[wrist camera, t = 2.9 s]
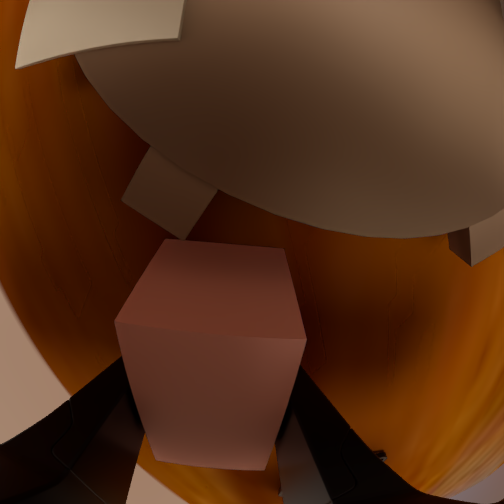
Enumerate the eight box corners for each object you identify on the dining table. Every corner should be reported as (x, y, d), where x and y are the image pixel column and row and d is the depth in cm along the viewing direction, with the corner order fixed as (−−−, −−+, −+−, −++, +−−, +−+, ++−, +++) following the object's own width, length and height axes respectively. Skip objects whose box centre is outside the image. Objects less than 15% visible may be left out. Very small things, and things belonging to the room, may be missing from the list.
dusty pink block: (283, 248, 9) (306, 340, 5) (260, 383, 11) (264, 470, 8) (165, 238, 9) (114, 321, 5) (174, 376, 11) (156, 460, 7)
